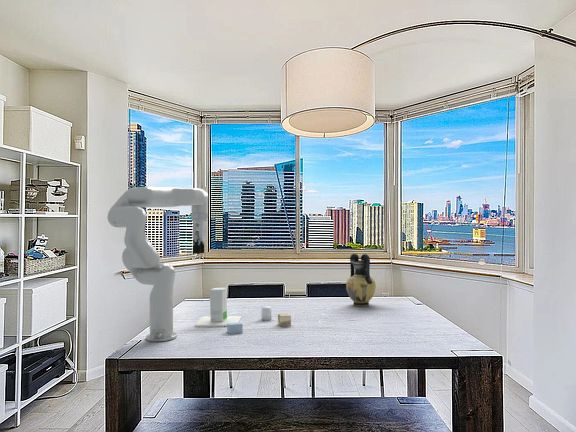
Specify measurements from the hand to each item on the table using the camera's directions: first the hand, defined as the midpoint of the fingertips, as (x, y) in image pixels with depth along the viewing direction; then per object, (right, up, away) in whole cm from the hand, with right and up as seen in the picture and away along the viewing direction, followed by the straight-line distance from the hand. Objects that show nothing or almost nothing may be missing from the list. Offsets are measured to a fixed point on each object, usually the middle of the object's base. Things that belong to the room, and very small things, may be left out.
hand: (198, 253), depth 209 cm
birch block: (+41, -34, 0) cm, 53 cm away
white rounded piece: (+31, -34, +13) cm, 48 cm away
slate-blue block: (+19, -34, -13) cm, 41 cm away
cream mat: (+8, -34, +8) cm, 36 cm away
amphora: (+85, -35, +50) cm, 104 cm away
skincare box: (+8, -34, +8) cm, 36 cm away
